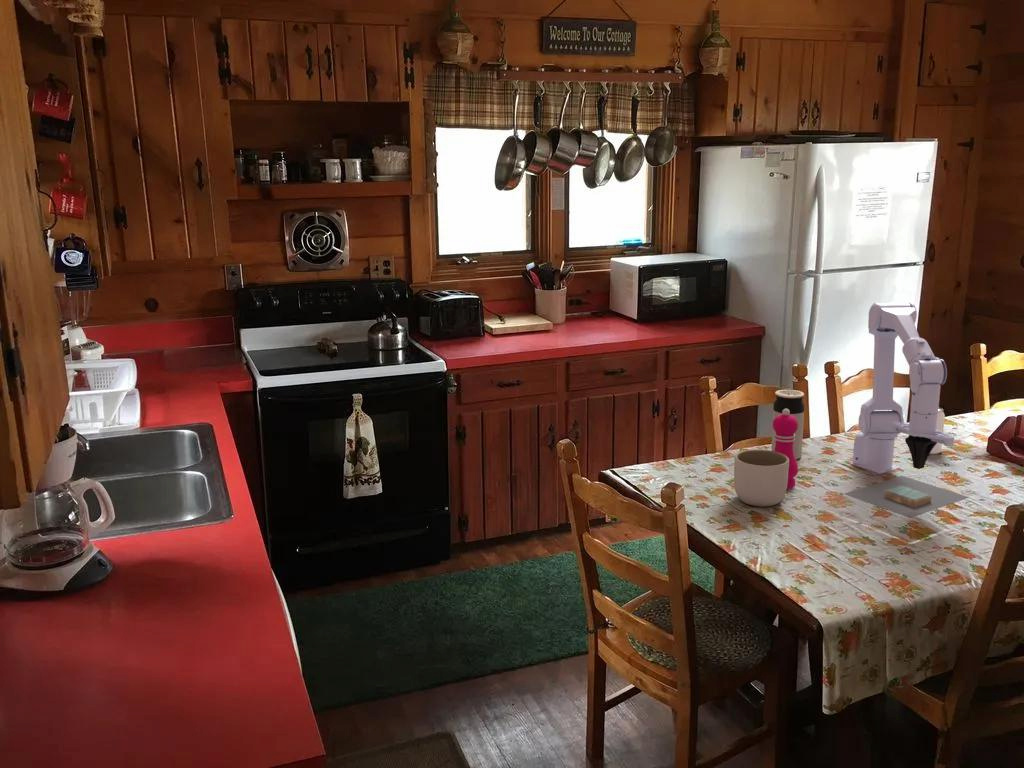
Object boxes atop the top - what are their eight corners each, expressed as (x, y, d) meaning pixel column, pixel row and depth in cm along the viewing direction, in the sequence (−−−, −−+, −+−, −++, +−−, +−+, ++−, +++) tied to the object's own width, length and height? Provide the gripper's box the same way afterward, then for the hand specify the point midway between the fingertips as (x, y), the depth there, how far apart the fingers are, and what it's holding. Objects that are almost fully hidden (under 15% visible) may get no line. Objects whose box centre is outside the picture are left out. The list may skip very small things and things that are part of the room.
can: (945, 454, 241) (949, 412, 238) (921, 454, 241) (925, 412, 238) (934, 447, 247) (938, 405, 244) (911, 447, 247) (915, 406, 244)
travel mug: (776, 449, 248) (780, 387, 244) (805, 454, 244) (809, 391, 239) (766, 457, 242) (769, 394, 237) (795, 462, 237) (799, 398, 233)
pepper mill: (781, 492, 217) (785, 414, 212) (760, 483, 223) (764, 407, 218) (803, 487, 220) (808, 410, 215) (782, 478, 226) (786, 403, 221)
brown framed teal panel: (885, 490, 211) (915, 500, 204) (901, 485, 214) (931, 495, 207) (884, 497, 211) (914, 507, 204) (900, 491, 214) (930, 502, 207)
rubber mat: (843, 495, 214) (843, 493, 214) (901, 477, 225) (901, 475, 225) (910, 519, 199) (910, 517, 199) (968, 499, 210) (968, 497, 210)
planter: (771, 515, 203) (773, 470, 201) (723, 502, 212) (724, 458, 209) (795, 499, 212) (798, 456, 210) (748, 487, 220) (750, 445, 218)
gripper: (885, 407, 206) (880, 462, 209) (942, 421, 194) (936, 480, 197) (904, 402, 209) (899, 456, 213) (962, 416, 197) (955, 473, 201)
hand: (918, 467), depth 205 cm, fingers closed
